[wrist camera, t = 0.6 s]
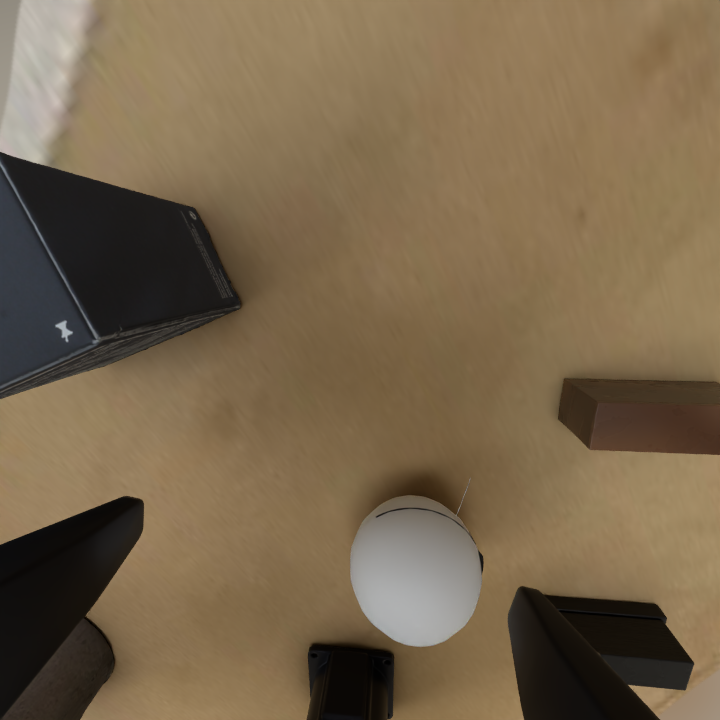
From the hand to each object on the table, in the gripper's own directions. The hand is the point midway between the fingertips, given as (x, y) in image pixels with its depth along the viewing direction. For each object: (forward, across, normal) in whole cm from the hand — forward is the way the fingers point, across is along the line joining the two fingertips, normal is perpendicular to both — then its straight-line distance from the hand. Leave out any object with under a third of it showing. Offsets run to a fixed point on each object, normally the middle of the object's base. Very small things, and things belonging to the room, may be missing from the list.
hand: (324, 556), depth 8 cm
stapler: (+14, -18, +13) cm, 26 cm away
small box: (+14, +14, -3) cm, 20 cm away
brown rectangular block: (+14, -15, -2) cm, 20 cm away
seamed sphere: (+14, -5, +8) cm, 17 cm away
